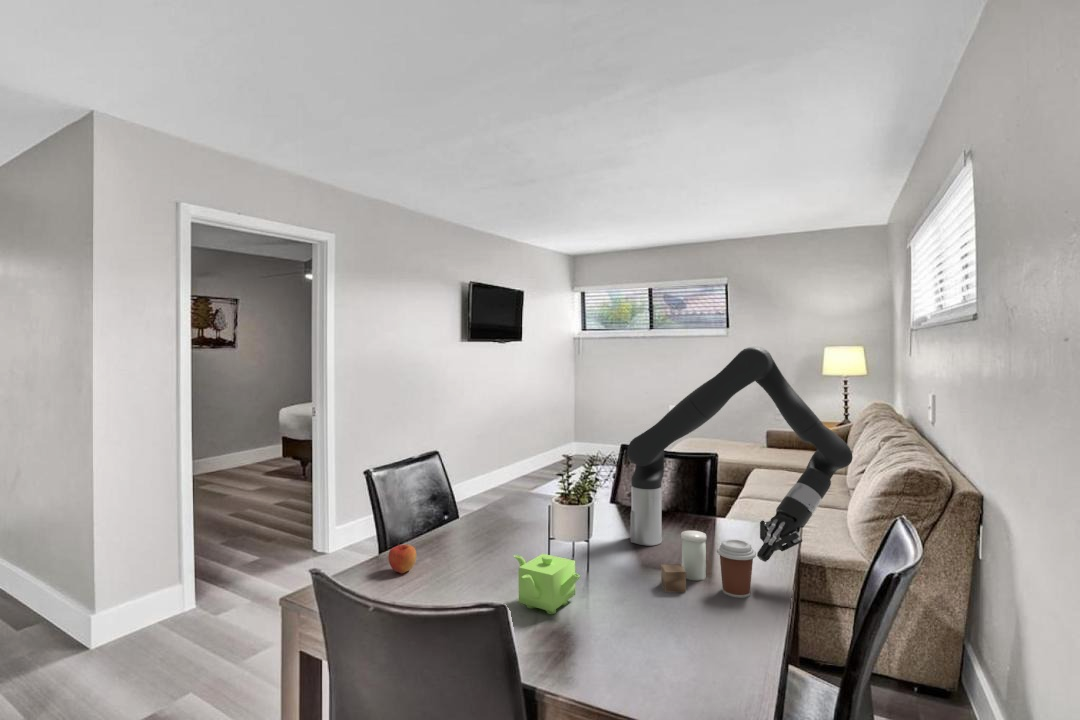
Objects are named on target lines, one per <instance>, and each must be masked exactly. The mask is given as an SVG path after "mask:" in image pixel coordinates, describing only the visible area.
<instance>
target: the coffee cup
mask: <svg viewBox="0 0 1080 720" xmlns="http://www.w3.org/2000/svg"><path fill="white" fill-rule="evenodd" d="M716 553H717V554H718V556H719V561H720V562H719V564H720V573H721V575H720V576H721V584H722V585H721V586H722V587H721V588H722V593H723V594H725V595H727V596H729V597H731V598H738V599H740V598H741V599H744V598H748V597H749V596H751V585H752V574H753V565H754V564H753V563H754V562H753V560H754V559H755V558H756V557H757V552H756V550H755V549H754V548H753V547H752V544H751V543H750V542H749V541H747V540H742V539H737V538H728V539H724V540H722V541H721V543H720V545H719V546H717V549H716Z"/></svg>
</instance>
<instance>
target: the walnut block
mask: <svg viewBox="0 0 1080 720" xmlns="http://www.w3.org/2000/svg"><path fill="white" fill-rule="evenodd" d="M660 571H661V572H660V578H661V579H660V583H661V586H662V588H663V590H664V592H665V593H686V592H687V579H686V571H685V570H684V568H683V567H682V563H681V564H676V563H675V564H660Z"/></svg>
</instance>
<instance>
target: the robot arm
mask: <svg viewBox="0 0 1080 720" xmlns="http://www.w3.org/2000/svg"><path fill="white" fill-rule="evenodd" d="M755 382H756V384H758V385H759V387H761V388H762V389H763V390H764V391H765V393H766V394H768V396H769V398H770V399H771V400H772V402H773V404H775V406H776V408H777V409H778V411H779V413H780V415H781V416H782V417H783V419H784V420H785V422H786V424H787V425H788V426H789V427H790V428H791V430H793V432H794V433H795V434H796V436H797V437H798V439H800V440H801V442H803V443H806V444H811V445H812V446H813V447H815V449H816V451H815V452H814V453H813V454H812V456H811V457H810V459H809V461H808V463H807V466H806V467H805V471H803V473H802V474H801V475H800V476H799V478H798V479H797V481H796V482H795V484H794V485H793V486H791V488H790V489H789V490H788V491H787V493H786V495H785V496H784V498H783V499H782V500H781V501H780V503H779V504H778V506H777V507H776V510H775V514H774V516H773V517H771V518H770V520H769V521H764V520H760V522H759V539H760V540H761V541H762V542H763V544H762V546H761V547H760V548H759V549H758V551H757V552H756V557H758V559H759V560H760V561H762V562H764V563H765V562H768V561H769V560H770V558H771V557H772V556H773V554H774V553H775V552H777V551H780V552H784V551H787V550H789V549H790V548H792V547H795V546H797V545H799V544H801V543H802V542H803V539H802V537H801V536H800V534H799V533H800V532H801V529H803V528H805V526H806V525H807V523H808V522H809V520H810V519H811V518H812V516H813V514H814V513H815V511H817V509H818V507H819V505H820V504H821V501H822V499H823V498H824V497H825V495H826V494H827V492H828V491H829V489H830V487H831V485H832V477H833V476H834V475H835V473H836V472H837V471H838V470H841V469H844V468H846V467H849V465H850V464H851V463H852V461H853V453H852V452H853V451H852V450H851V448H850V446H849V445H848V444H847V443H846V441H844V440H843V438H841V437H840V436H839V435H837V434H836V432H834V431H832V430H831V429H830V428H829V427H827V426H825V424H824V423H823V422H822V421H821V420H820V418H819V417H818V416H817V415H816V414H815V412H814V411H813V409H811V408H810V406H809V405H807V404H806V402H805V401H804V400H803V399H802V397H800V395H799V394H798V393H797V392H796V391H795V390H794V388H793V387H792V386H791V384H789V382H788V380H787V379H786V377H785V376H784V374H783V373H782V372H781V370H780V369H779V367H778V365H777V363H776V362H775V360H774V358H773V357H772V355H771V353H770V352H769V351H768V350H767V349H765V348H763V347H760V346H750V347H745V348H744V349H742V350H741V351H739V352H738V354H736V356H735V357H734V358H732V360H731V361H730V362H729V363H728V364H727V365H725V367H724V368H722V370H720V372H718V373H717V374H716V375H715V376H713V377H712V378H711V379H708V380H707V381H706V382H704V383H702V384H701V385H700V386H698V387H697V388H696V389H694V390H693V391H692V392H689V394H688V395H687V396H685V397H684V398H683V399H681V401H679V402H678V403H677V404H676V405H675V406H674V407H673V408H671V409H670V410H669V411H668V412H667V413H666V414H665V415H664V416H663V417H662V418H661V419H660V420H659V421H658V422H656V424H653V425H652V426H651V427H650V428H647V430H645V431H644V432H641V434H639V435H638V436H635V437H634V438H633V439H631V440H630V442H629V444H628V446H627V450H626V451H627V457H628V460H629V461H630V462H631V463H632V464H633V465H635V469H634V472H633V474H632V476H631V480H630V482H631V483H630V484H631V489H630V490H631V494H630V495H631V497H630V498H631V502H630V503H631V510H630V543H633V544H637V545H640V546H641V545H642V546H657V545H660V544H661V543H662V536H663V534H662V532H663V531H662V525H663V524H662V520H663V519H662V483H663V482H662V481H663V477H664V473H665V472H664V471H665V470H664V469H665V449H666V448H668V447H669V446H670V445H672V443H674V442H676V441H677V440H680V439H682V438H683V437H685V436H687V435H688V434H689V435H690V433H692V432H695V430H697V429H699V428H700V427H701V426H702V425H705V423H706V422H707V423H708V421H709V420H711V419H712V418H713V417H714V416H715V415H716V414H718V413H719V411H721V410H722V409H723V407H724V406H725V405H726V404H727V403H728V402H729V401H730V399H732V397H734V396H735V395H736V394H737V393H738V392H740V391H742V390H743V389H744V388H746V387H748V386H749V385H751V384H753V383H755Z"/></svg>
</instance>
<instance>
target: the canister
mask: <svg viewBox="0 0 1080 720" xmlns="http://www.w3.org/2000/svg"><path fill="white" fill-rule="evenodd" d="M680 537H681V565H682V567H683V568H684V570H685V571H686V580H689V581H702V580H703V581H704V580H706V576H707V574H706V572H707V571H706V569H707V568H706V562H707V560H706V558H707V557H706V556H707V555H706V547H707V545H706V544H707V543H706V540H707V534H706V533H705V532H702V531H700V530H684V531H682V532H681V533H680Z"/></svg>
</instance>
